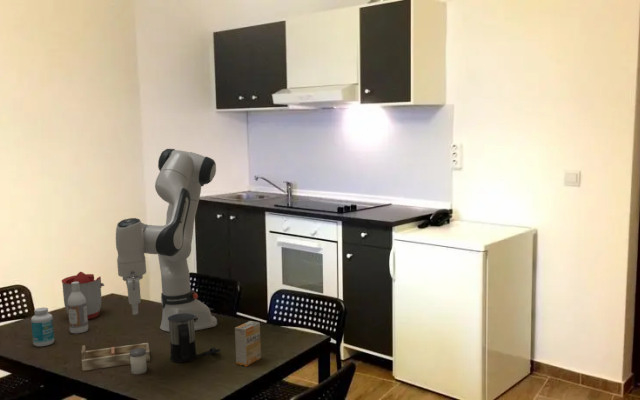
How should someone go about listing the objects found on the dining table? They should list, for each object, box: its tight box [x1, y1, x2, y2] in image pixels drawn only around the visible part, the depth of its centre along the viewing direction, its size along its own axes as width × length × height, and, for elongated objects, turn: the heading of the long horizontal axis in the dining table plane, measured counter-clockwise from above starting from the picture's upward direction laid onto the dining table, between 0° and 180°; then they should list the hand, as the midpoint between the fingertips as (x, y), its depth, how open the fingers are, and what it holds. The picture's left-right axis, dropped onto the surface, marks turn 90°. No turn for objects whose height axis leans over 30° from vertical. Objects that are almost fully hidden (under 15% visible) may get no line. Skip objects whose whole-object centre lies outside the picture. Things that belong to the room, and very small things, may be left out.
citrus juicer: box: [61, 271, 105, 320], centre depth 265 cm, size 16×17×20 cm
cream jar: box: [130, 348, 148, 375], centre depth 206 cm, size 5×5×7 cm
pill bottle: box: [30, 307, 55, 347], centre depth 234 cm, size 8×7×14 cm
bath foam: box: [67, 282, 89, 334], centre depth 247 cm, size 7×7×20 cm
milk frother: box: [168, 313, 221, 363], centre depth 216 cm, size 14×16×15 cm
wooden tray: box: [80, 342, 151, 372], centre depth 215 cm, size 22×9×6 cm, turn 108°
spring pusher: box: [110, 346, 115, 356], centre depth 215 cm, size 1×6×3 cm, turn 19°
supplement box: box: [234, 320, 262, 367], centre depth 211 cm, size 8×5×13 cm, turn 148°
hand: (134, 309), depth 204 cm, fingers open, 8 cm apart
